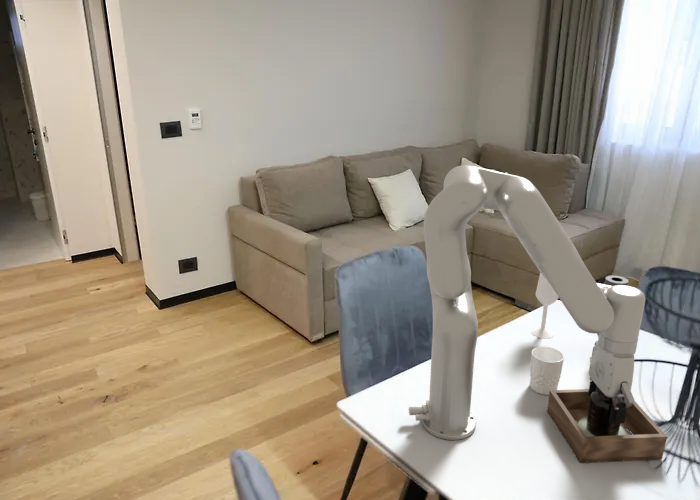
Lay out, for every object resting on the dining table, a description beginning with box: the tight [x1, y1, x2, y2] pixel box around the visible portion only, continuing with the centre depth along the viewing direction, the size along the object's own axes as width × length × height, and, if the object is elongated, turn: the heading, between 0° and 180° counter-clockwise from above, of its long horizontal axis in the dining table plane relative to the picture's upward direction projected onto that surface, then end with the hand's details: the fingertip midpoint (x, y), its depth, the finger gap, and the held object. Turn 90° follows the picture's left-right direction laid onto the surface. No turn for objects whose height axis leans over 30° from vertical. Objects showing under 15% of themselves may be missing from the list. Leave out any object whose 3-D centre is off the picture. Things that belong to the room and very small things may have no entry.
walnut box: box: [546, 388, 668, 464], centre depth 125 cm, size 18×18×6 cm
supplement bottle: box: [586, 386, 623, 436], centre depth 123 cm, size 7×7×12 cm
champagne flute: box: [530, 271, 560, 339], centre depth 167 cm, size 7×7×24 cm
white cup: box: [529, 346, 565, 396], centre depth 142 cm, size 8×8×10 cm
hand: (605, 409), depth 123 cm, fingers open, 9 cm apart
